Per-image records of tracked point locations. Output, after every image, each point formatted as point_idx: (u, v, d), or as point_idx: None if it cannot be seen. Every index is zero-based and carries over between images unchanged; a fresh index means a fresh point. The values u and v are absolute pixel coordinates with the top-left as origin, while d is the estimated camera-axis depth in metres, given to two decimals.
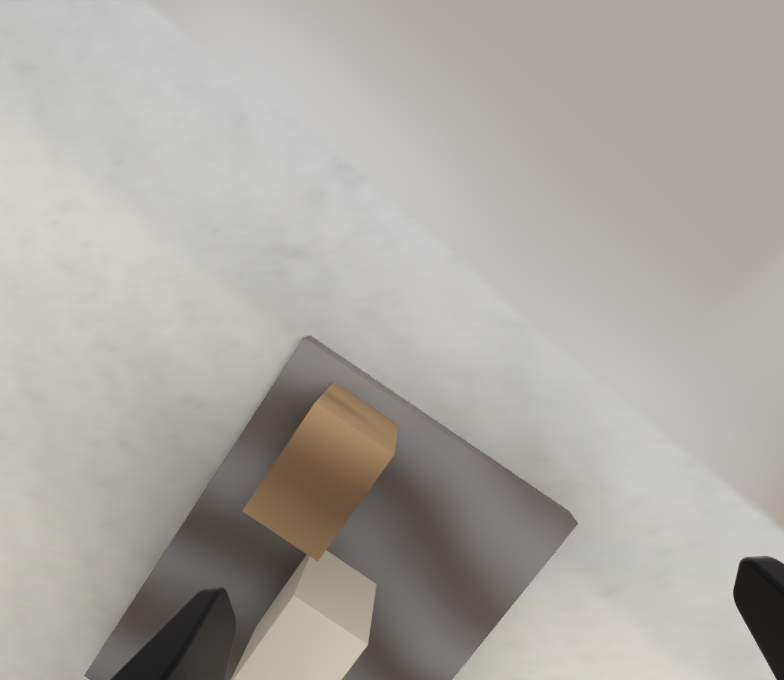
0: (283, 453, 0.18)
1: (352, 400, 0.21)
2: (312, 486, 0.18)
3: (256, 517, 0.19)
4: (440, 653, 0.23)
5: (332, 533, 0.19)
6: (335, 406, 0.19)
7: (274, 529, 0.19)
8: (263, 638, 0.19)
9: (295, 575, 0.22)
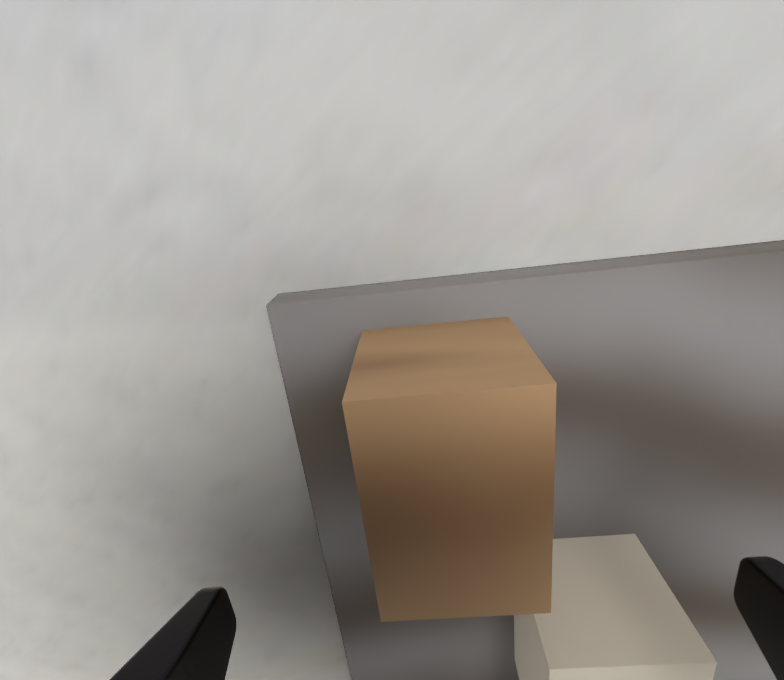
0: (367, 514, 0.09)
1: (409, 337, 0.11)
2: (453, 526, 0.09)
3: (410, 613, 0.10)
4: None
5: (543, 566, 0.09)
6: (386, 377, 0.09)
7: (448, 614, 0.10)
8: None
9: None
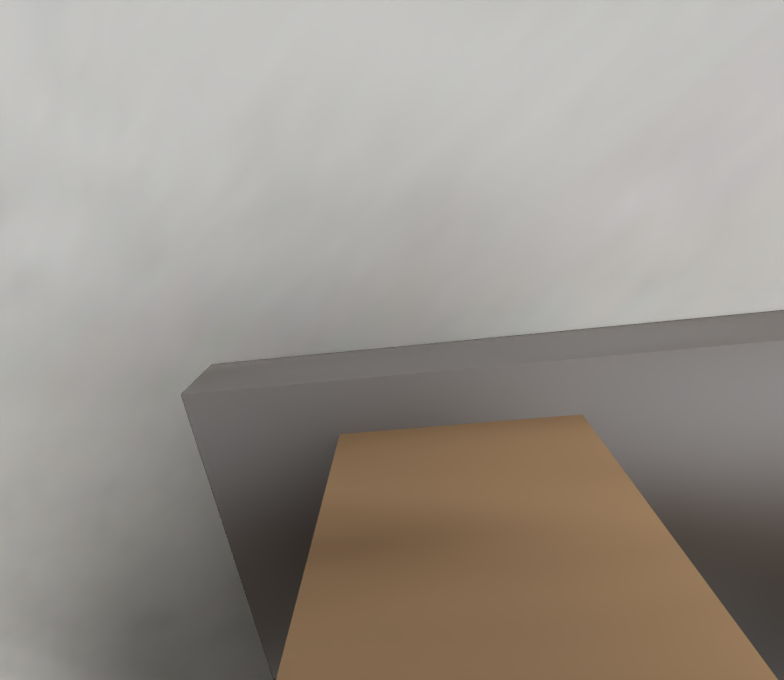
0: None
1: (418, 460, 0.06)
2: None
3: None
4: None
5: None
6: (373, 603, 0.04)
7: None
8: None
9: None
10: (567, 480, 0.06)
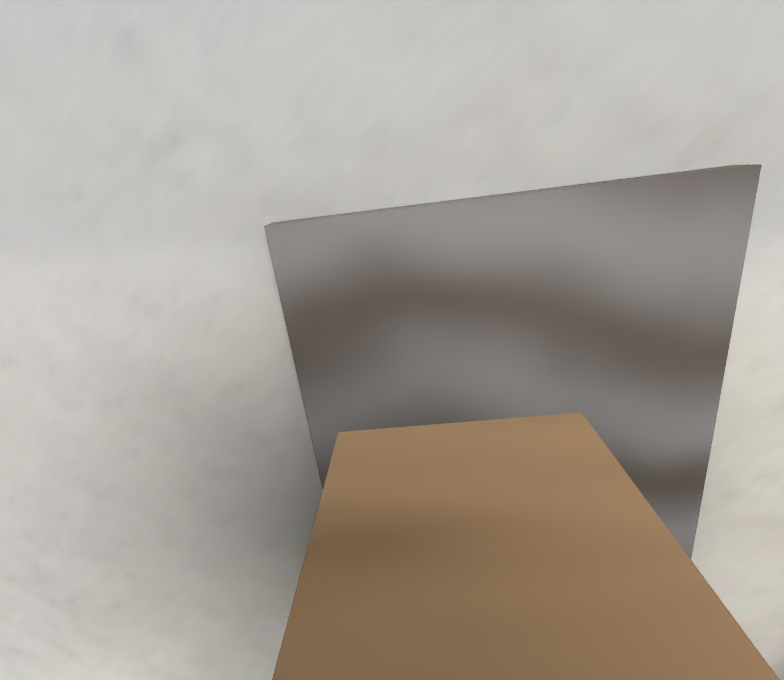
0: None
1: (416, 459, 0.06)
2: None
3: None
4: (679, 431, 0.18)
5: None
6: (371, 600, 0.04)
7: None
8: None
9: None
10: (566, 478, 0.06)
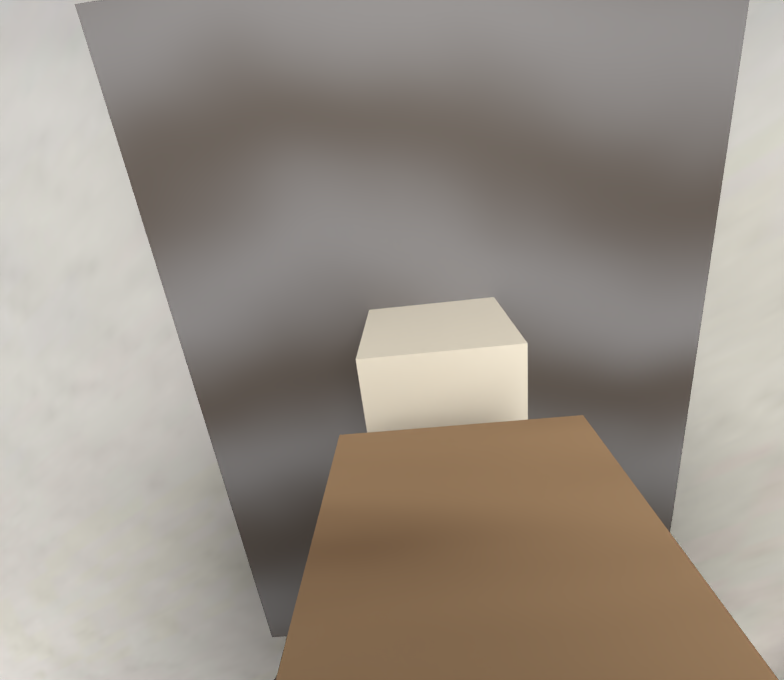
0: None
1: (418, 461, 0.06)
2: None
3: None
4: (656, 320, 0.14)
5: None
6: (373, 605, 0.04)
7: None
8: None
9: None
10: (568, 481, 0.06)
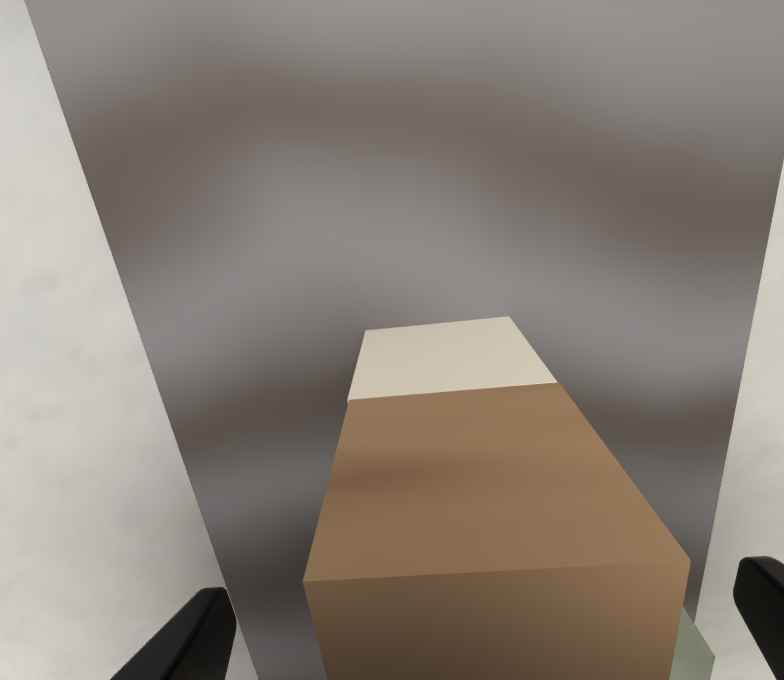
0: None
1: (417, 418, 0.07)
2: None
3: None
4: (695, 342, 0.12)
5: None
6: (382, 515, 0.05)
7: None
8: None
9: None
10: (541, 430, 0.07)
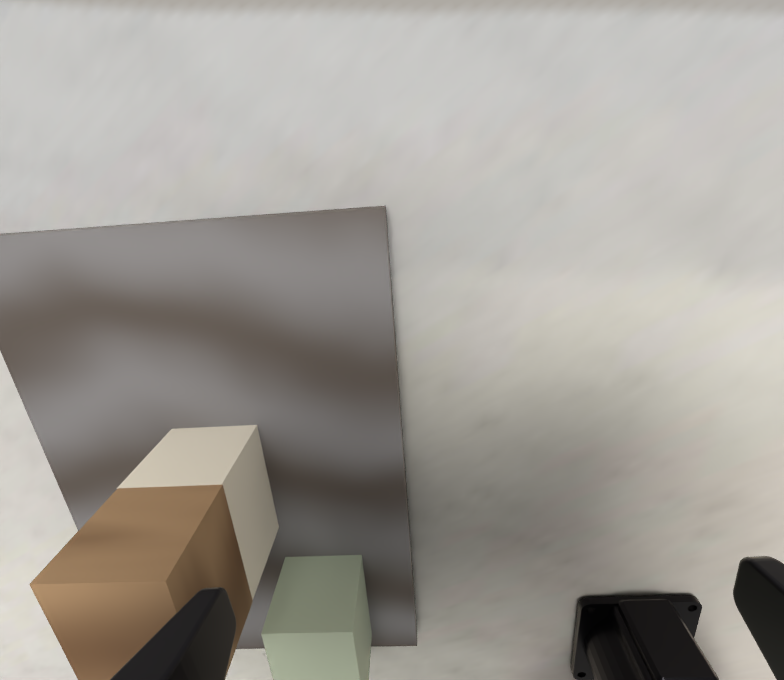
0: (65, 649, 0.13)
1: (137, 504, 0.15)
2: (126, 658, 0.13)
3: None
4: (371, 444, 0.20)
5: None
6: (78, 557, 0.13)
7: None
8: None
9: None
10: (182, 516, 0.14)
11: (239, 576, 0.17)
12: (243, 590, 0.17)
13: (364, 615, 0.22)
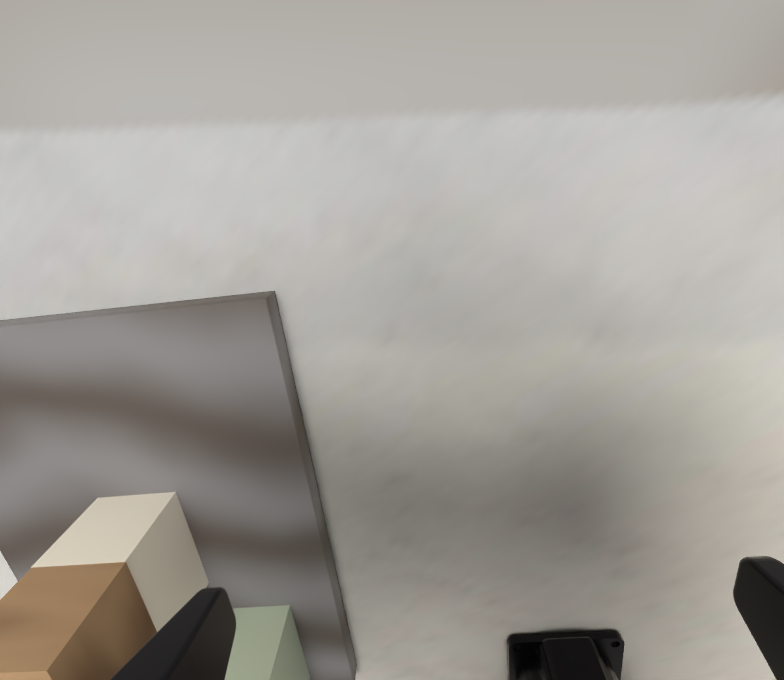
0: None
1: (44, 585, 0.16)
2: None
3: None
4: (284, 506, 0.21)
5: None
6: None
7: None
8: None
9: None
10: (80, 598, 0.16)
11: None
12: None
13: (294, 663, 0.23)
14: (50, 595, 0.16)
